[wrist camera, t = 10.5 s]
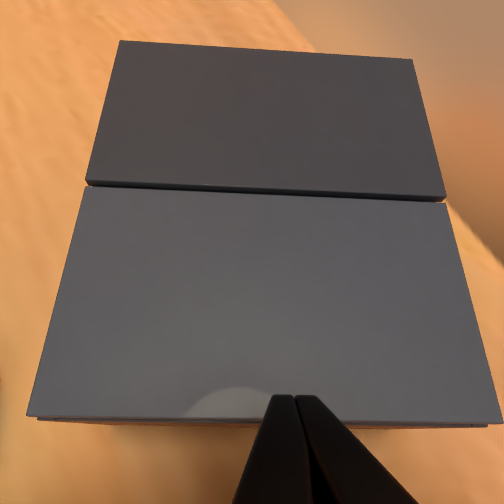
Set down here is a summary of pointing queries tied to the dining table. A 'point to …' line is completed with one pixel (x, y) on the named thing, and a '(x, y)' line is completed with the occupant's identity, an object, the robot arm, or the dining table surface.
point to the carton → (263, 137)
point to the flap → (262, 311)
